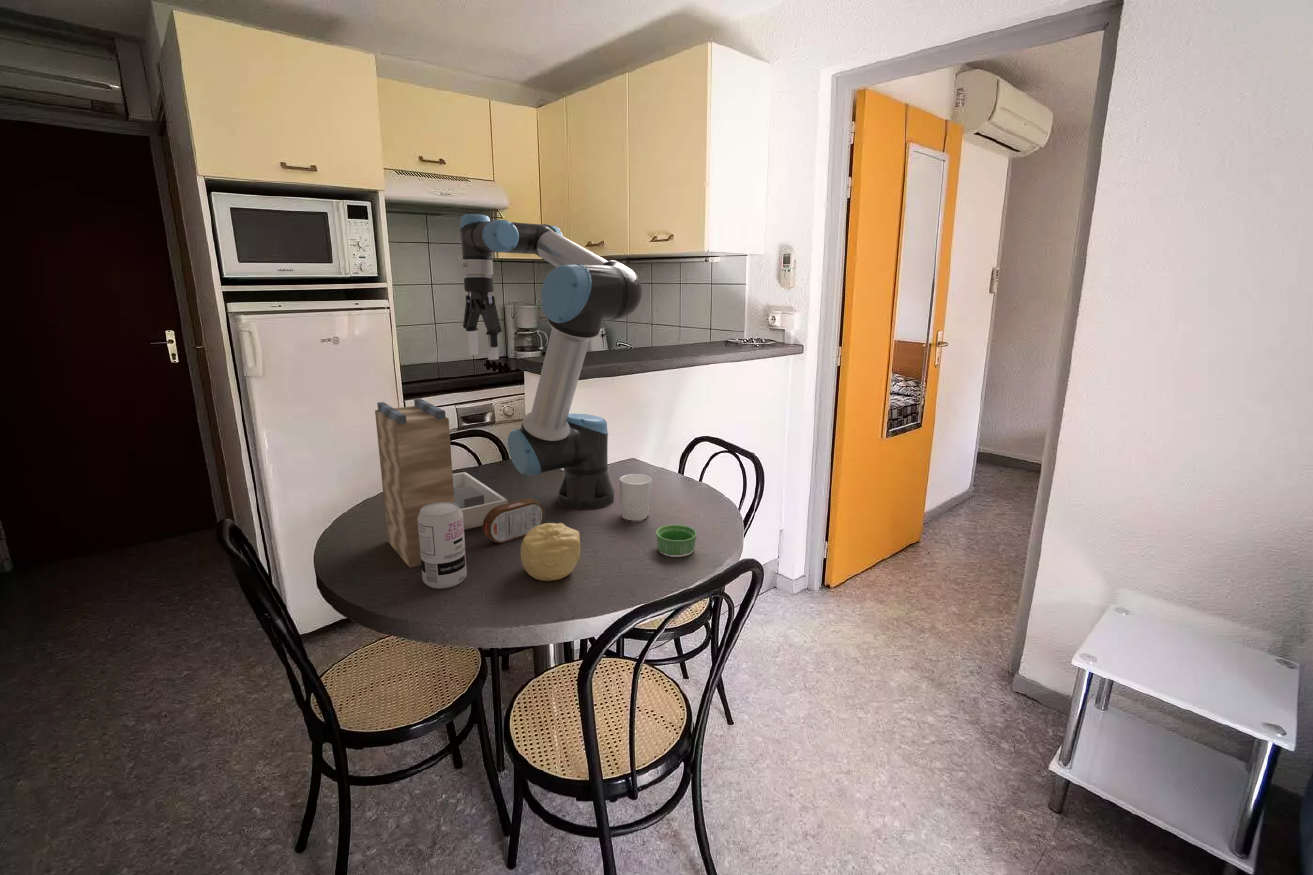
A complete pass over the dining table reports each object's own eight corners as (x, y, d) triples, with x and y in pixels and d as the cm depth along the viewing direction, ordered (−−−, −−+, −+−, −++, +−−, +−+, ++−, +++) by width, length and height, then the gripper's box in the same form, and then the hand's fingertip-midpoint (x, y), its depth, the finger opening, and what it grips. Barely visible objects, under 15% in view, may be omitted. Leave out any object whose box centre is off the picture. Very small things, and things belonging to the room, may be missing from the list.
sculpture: (528, 592, 117) (526, 539, 114) (516, 565, 127) (514, 517, 125) (586, 581, 121) (586, 530, 118) (570, 556, 132) (569, 509, 129)
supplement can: (429, 571, 124) (423, 501, 121) (471, 570, 125) (466, 500, 121) (417, 590, 116) (411, 516, 113) (462, 589, 117) (457, 515, 113)
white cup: (652, 511, 158) (653, 474, 155) (649, 523, 150) (649, 484, 148) (622, 510, 159) (622, 473, 156) (617, 521, 151) (617, 483, 149)
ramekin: (649, 545, 138) (649, 527, 137) (685, 540, 142) (685, 522, 141) (665, 562, 130) (666, 543, 129) (703, 555, 134) (704, 537, 133)
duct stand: (388, 541, 138) (374, 402, 130) (433, 531, 144) (422, 398, 136) (410, 567, 125) (396, 416, 118) (458, 555, 131) (448, 410, 124)
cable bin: (416, 498, 164) (415, 480, 163) (466, 488, 172) (465, 471, 171) (454, 532, 143) (452, 512, 142) (508, 519, 151) (507, 500, 150)
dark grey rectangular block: (435, 495, 164) (433, 477, 163) (453, 491, 167) (452, 474, 166) (465, 518, 149) (464, 499, 147) (485, 514, 152) (483, 495, 150)
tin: (539, 526, 147) (538, 493, 145) (547, 530, 145) (546, 497, 143) (482, 544, 137) (480, 509, 135) (489, 549, 135) (487, 513, 133)
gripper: (447, 276, 170) (453, 353, 175) (483, 276, 151) (488, 362, 156) (473, 277, 175) (478, 352, 180) (512, 276, 156) (516, 360, 161)
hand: (483, 357), depth 168 cm, fingers open, 13 cm apart
